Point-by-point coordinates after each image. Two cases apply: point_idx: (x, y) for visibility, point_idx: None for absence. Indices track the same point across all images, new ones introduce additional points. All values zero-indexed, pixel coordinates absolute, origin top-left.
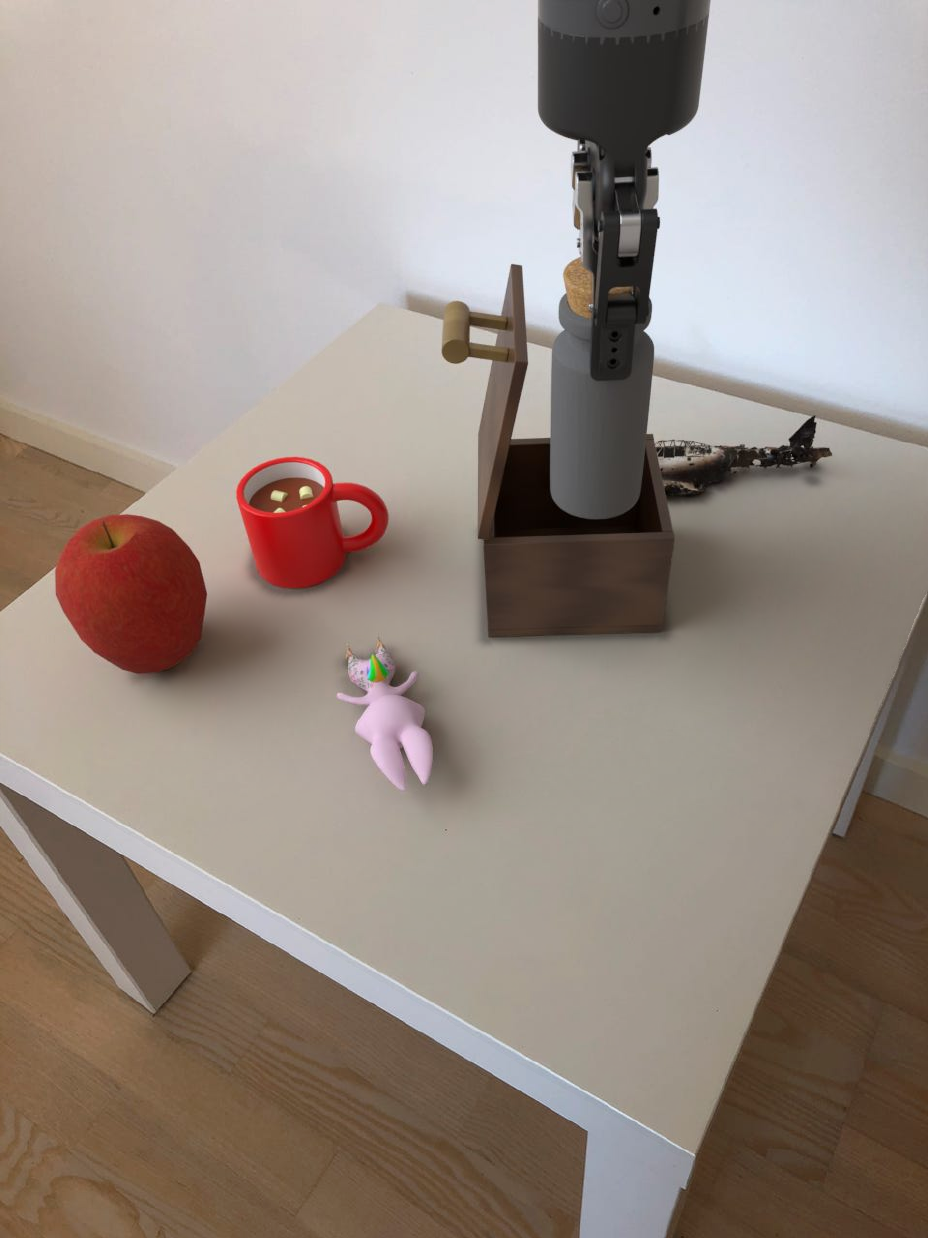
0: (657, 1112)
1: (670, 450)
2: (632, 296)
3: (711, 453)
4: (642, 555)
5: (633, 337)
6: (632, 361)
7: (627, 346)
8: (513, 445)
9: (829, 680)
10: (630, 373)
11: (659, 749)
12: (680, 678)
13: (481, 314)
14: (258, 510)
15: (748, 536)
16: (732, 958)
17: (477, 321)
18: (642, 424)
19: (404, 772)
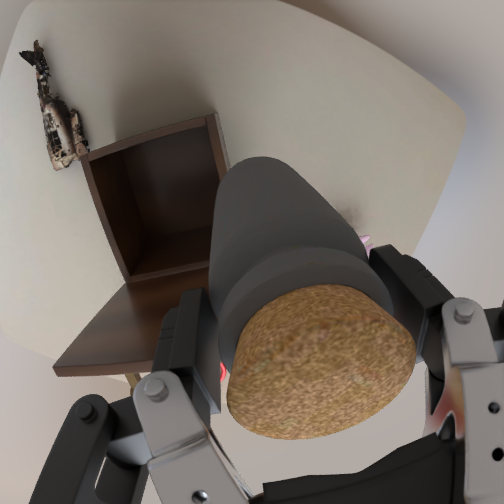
0: (464, 125)
1: (52, 141)
2: (500, 339)
3: (50, 112)
4: (220, 137)
5: (422, 278)
6: (353, 244)
7: (437, 281)
8: (124, 262)
9: (244, 13)
10: (391, 245)
11: (315, 110)
12: (257, 98)
13: (130, 379)
14: (222, 375)
15: (112, 71)
16: (418, 86)
17: (138, 379)
18: (304, 183)
19: (365, 247)
